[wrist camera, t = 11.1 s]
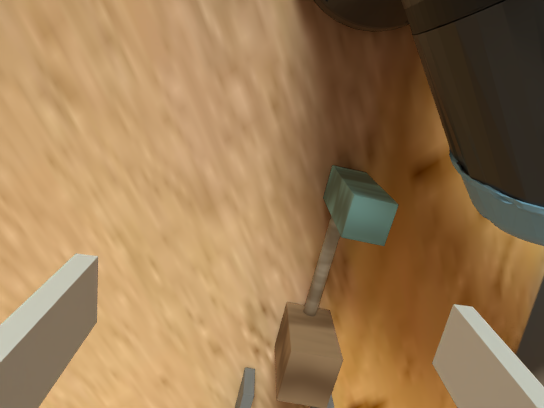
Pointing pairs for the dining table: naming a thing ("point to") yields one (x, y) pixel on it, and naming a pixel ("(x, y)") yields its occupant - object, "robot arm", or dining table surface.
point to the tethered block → (310, 319)
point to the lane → (248, 391)
